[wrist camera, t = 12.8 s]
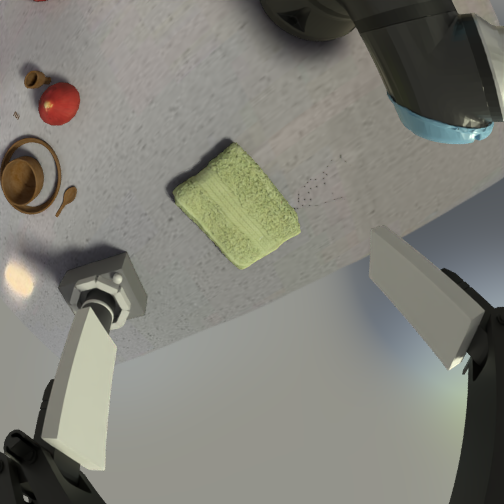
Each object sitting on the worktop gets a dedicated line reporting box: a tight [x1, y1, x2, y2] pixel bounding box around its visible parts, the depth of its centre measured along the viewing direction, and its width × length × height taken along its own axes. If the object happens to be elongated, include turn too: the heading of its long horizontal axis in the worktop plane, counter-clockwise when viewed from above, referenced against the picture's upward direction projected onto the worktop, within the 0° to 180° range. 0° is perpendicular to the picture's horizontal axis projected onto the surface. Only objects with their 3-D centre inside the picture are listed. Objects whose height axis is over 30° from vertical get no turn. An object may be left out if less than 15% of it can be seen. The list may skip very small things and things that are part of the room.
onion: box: [38, 82, 80, 125], centre depth 27 cm, size 6×6×8 cm
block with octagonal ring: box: [58, 252, 147, 330], centre depth 42 cm, size 12×9×6 cm
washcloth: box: [172, 143, 301, 269], centre depth 43 cm, size 13×18×3 cm
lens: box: [81, 289, 116, 335], centre depth 35 cm, size 5×5×13 cm
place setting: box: [0, 71, 77, 217], centre depth 30 cm, size 18×20×6 cm
